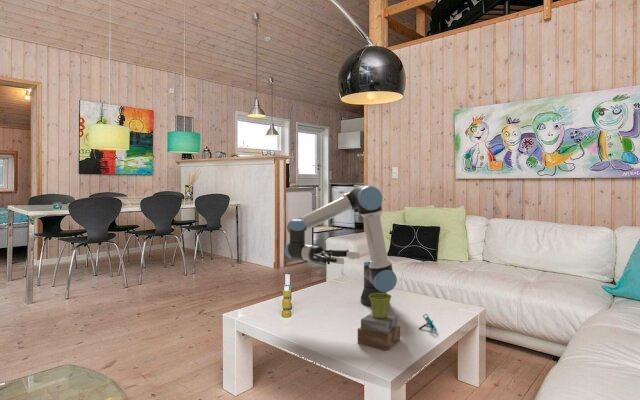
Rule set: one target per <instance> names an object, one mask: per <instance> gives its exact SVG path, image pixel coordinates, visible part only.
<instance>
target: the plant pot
mask: <svg viewBox="0 0 640 400" xmlns="http://www.w3.org/2000/svg"><path fill="white" fill-rule="evenodd" d="M369 298H370V301H371V306H370V307H371V313H372V314H373V317H375V318H381V319H383V318H386V317H387V316H388V315H389V307H390V301H391V299H392V295H391V294H389V293H387V294H385V293H373V294H370V295H369Z"/></svg>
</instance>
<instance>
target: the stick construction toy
mask: <svg viewBox="0 0 640 400" xmlns="http://www.w3.org/2000/svg"><path fill="white" fill-rule="evenodd" d="M425 316H426V317H425ZM422 317H423V318H424V320H425V321H426V322H425V323H424V324H423V325H421V326H420V327H418V329H419V330H421V329H423V328H425V327H428V326H429V328H430V330H431V332H435V331H436V330H437V328H436V326H435V324H434V320H433V319H431V318H430V317H429V315H428V314H427V313H425V314H423V315H422Z"/></svg>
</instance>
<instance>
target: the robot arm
mask: <svg viewBox="0 0 640 400" xmlns="http://www.w3.org/2000/svg"><path fill="white" fill-rule="evenodd" d="M382 203H383V195H382V192H381V191H380V189H379V188H377V187H376V186H373V185H364V184H363V185H358V186H357V187H355V188H353V189H352V190H350V191H348V192H346V193H344V194H343V195H342V197H340V198H338V199H336V200H333V201H331V202H330V203H327V204H325V205H324V206H321V207H318V209H315V210H313V211H311V212H309V213H307V214H305V215H303V216H301V217H299V218H295V219H294V218H293V219H290V220H289V222H288V223H287V225H286V226H287V227H286V229H287V232H288V233H289V242H288V243H287V244H286V245H285V248H284V254H285V256H286V257H288V258H289V259H294V260H301V261H307V263H309V262H315V263H323V264H327V265H331V263H332V264H338V265H344V264H345V258H347V259H348V258H349V259H356V260H359V259H360V256H361V255H360V252H356V251H350V250H348V249H346V250H345V249H344V250H340V249H339V250H336V249H335V250H334V249H329V250H328V249H325V250H324V248H323V247H322V246H320V245H314V244H313V245H312V244H306V240H305V239H306V235H305V234H306V231H308V230H309V229H312V228H314V227H317V226H318V225H320V224H322V223H324V222H326V221H329V220H331V219H333V218H336V217H337V216H339V215H341V214H343V213H345V212H347V211H354V210H356V209H357V210H358V215H359V216H361V217H362V221H363V226H364V231H365V237H366V242H367V247H368V252H369V258H370V260H369V259H368V260H365V261H364V262H363V290H362V293H361V295H360V303H361V304H362V305H365V306H369V307H371V301H370V298H369V295H370V294H373V293H385V294H388V292H391V291H393V290H394V289H395V287H396V285H397V283H398V282H397V281H398V277H397V275H396V274H395V272H394V270H393V266H392V265H393V264H392V262H391V260H388V254H387V248H386V243H385V238H384V237H385V236H384V233H383V232H384V231H383V226H382V225H383V224H382V221H381V213H382V212H383V209H382Z"/></svg>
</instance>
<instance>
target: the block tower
mask: <svg viewBox="0 0 640 400" xmlns="http://www.w3.org/2000/svg"><path fill="white" fill-rule="evenodd" d="M400 341H401V325H398V316H395V315H391V314H388V316H387V317H386V318H383V319H381V318H375V317H373V314H372V312H371V313H369V314H367V315H366V316H364V317H362V318H361V319H360V327H358V328H357V344H359V345H362V346H365V347H370V348H374V349H378V350H380V351H381V350H382V351H384V352H387V351H389V350H390V349H391V348H392V347H393V346H395V345H396V344H397V343H398V342H400Z"/></svg>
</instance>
